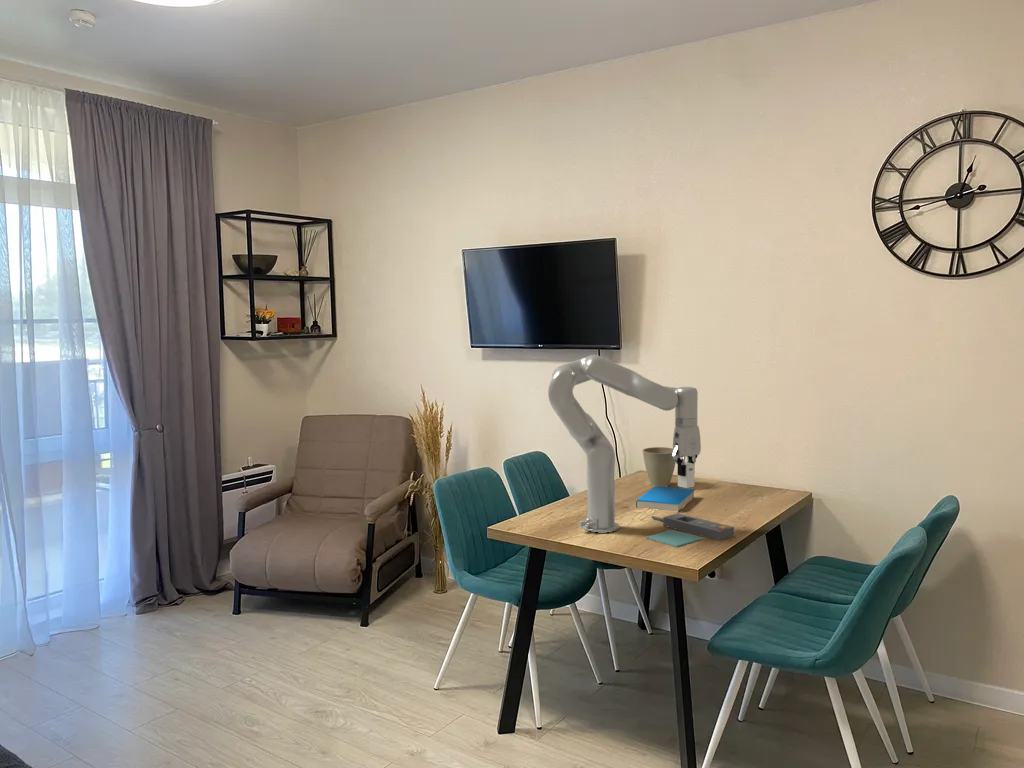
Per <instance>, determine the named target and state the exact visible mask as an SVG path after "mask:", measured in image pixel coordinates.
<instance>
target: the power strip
mask: <svg viewBox="0 0 1024 768" xmlns="http://www.w3.org/2000/svg"><path fill="white" fill-rule="evenodd" d="M650 518H651V519H652V518H653V520H656V519H657V520H656V521H659V520H660V522H662V523H663V525H665V526H664V527H667V526H669V527H668V528H671V527H672V528H671V529H674V528H676V529H675V530H678V529H679V530H678V531H682V530H683V531H682V532H685V531H686V533H689V532H690V533H689V534H692V535H697V536H700V535H701V536H700V537H705V538H708V537H709V538H708V539H711V538H712V540H715V539H716V540H717V541H719V540H720V541H722V539H723V540H725V538H726V539H728V537H729V538H731V536H732V537H734V536H735V527H734V526H731V525H726V524H723V523H719V522H714V521H711V520H706V519H703V518H699V517H694V516H691V515H686V514H682V513H679V512H676V513H674V514H671V515H668V516H667V515H666V516H663V517H658V516H654V515H652V516H651V517H650ZM733 535H734V536H733ZM716 540H715V541H716Z"/></svg>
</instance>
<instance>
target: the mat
mask: <svg viewBox="0 0 1024 768" xmlns="http://www.w3.org/2000/svg"><path fill="white" fill-rule="evenodd" d="M645 538H646V539H647V538H649V539H648V540H650V539H652V540H651V541H654V540H656V541H655V542H657V541H659V542H658V543H660V542H662V544H664V543H665V544H664V545H667V544H668V545H667V546H671V545H672V546H671V547H674V546H675V548H678V547H677V546H679V547H682V546H686V545H688V543H689V544H693V543H695V542H698V540H699V541H701V539H702V540H703V537H702V536H698V535H697V536H696V535H695V534H691V533H687V532H686V533H685V532H684V531H682V532H681V531H680V530H676V529H675V530H674V529H669V530H665V531H663V532H659V533H655V534H651V535H648V536H646V537H645ZM685 544H686V545H685ZM681 545H682V546H681Z"/></svg>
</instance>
